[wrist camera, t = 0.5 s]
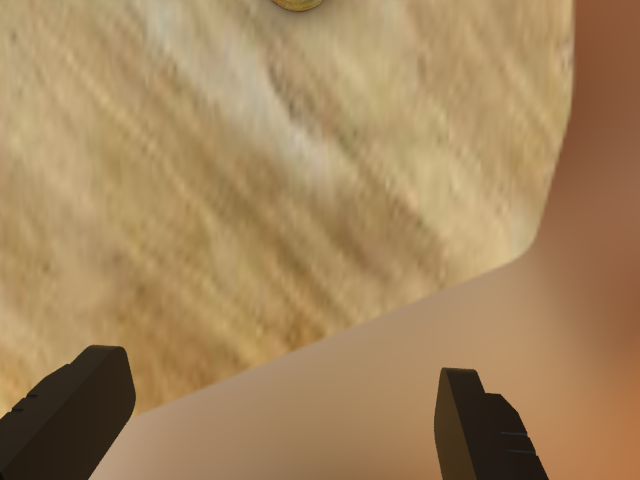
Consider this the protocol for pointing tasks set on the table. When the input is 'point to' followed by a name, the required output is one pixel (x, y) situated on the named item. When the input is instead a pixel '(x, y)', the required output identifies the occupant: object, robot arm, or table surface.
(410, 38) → the table surface
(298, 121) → the table surface
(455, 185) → the table surface
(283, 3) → the sauce bottle
